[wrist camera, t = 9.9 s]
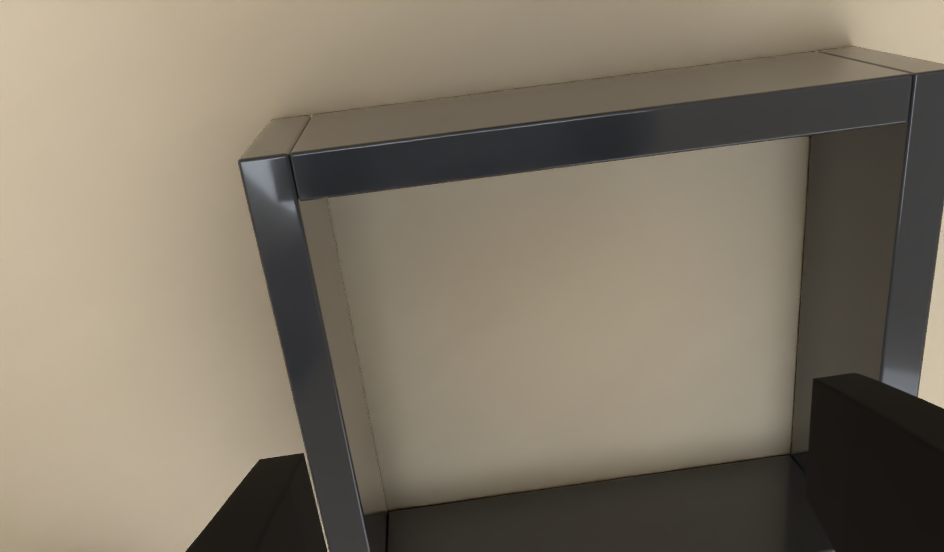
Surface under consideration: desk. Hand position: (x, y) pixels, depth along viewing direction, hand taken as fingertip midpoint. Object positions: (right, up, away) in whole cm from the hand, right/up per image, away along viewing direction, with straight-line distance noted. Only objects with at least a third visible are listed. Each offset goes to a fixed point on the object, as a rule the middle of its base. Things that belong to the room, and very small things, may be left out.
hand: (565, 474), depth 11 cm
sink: (+2, +2, +10) cm, 11 cm away
